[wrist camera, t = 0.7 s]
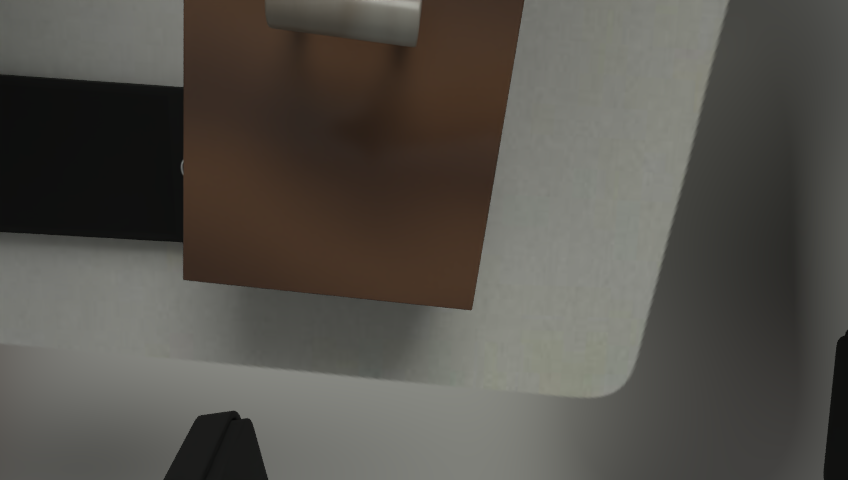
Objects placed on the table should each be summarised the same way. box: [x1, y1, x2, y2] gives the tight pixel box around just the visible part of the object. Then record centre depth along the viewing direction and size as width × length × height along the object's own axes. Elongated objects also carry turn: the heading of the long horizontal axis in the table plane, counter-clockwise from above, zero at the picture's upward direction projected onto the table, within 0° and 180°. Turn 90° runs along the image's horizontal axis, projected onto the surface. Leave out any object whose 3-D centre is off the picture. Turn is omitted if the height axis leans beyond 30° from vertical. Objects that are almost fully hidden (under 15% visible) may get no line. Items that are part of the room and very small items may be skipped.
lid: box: [183, 0, 524, 310], centre depth 23 cm, size 14×13×5 cm
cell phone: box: [0, 74, 184, 242], centre depth 34 cm, size 9×18×1 cm, turn 86°
